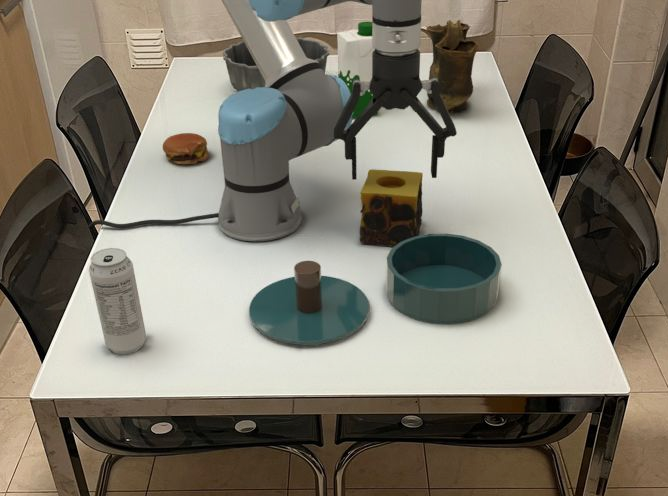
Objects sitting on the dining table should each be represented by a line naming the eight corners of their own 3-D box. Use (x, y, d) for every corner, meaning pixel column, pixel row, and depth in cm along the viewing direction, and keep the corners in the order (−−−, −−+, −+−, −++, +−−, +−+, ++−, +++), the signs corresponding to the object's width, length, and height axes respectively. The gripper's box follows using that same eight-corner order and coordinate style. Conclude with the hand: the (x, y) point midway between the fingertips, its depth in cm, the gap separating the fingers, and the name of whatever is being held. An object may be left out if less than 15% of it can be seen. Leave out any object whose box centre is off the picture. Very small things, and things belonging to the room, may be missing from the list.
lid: (244, 348, 123) (239, 302, 118) (254, 282, 137) (250, 238, 133) (370, 347, 122) (371, 300, 117) (367, 280, 137) (367, 236, 132)
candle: (416, 249, 145) (418, 197, 139) (359, 245, 147) (358, 193, 141) (422, 222, 153) (425, 171, 147) (368, 218, 155) (368, 168, 149)
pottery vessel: (478, 126, 189) (486, 36, 178) (430, 127, 190) (435, 37, 178) (464, 88, 210) (470, 5, 198) (421, 89, 210) (424, 6, 198)
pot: (389, 325, 127) (389, 291, 123) (384, 265, 141) (384, 234, 137) (505, 323, 126) (509, 290, 123) (488, 264, 140) (492, 232, 137)
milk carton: (382, 116, 196) (383, 28, 184) (346, 121, 194) (344, 32, 182) (370, 103, 202) (370, 18, 191) (334, 108, 200) (332, 22, 189)
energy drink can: (149, 331, 127) (133, 244, 118) (144, 355, 122) (127, 266, 113) (109, 333, 126) (90, 246, 118) (103, 357, 122) (82, 268, 113)
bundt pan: (287, 67, 226) (285, 29, 220) (351, 91, 210) (351, 50, 204) (206, 90, 213) (201, 50, 207) (267, 117, 196) (264, 75, 191)
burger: (173, 147, 183) (170, 127, 180) (214, 149, 182) (211, 129, 179) (158, 166, 175) (155, 145, 173) (201, 168, 174) (199, 147, 171)
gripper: (316, 58, 128) (320, 186, 140) (479, 54, 127) (469, 183, 140) (317, 44, 134) (321, 167, 146) (473, 40, 133) (464, 164, 146)
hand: (393, 175), depth 143 cm, fingers open, 13 cm apart
